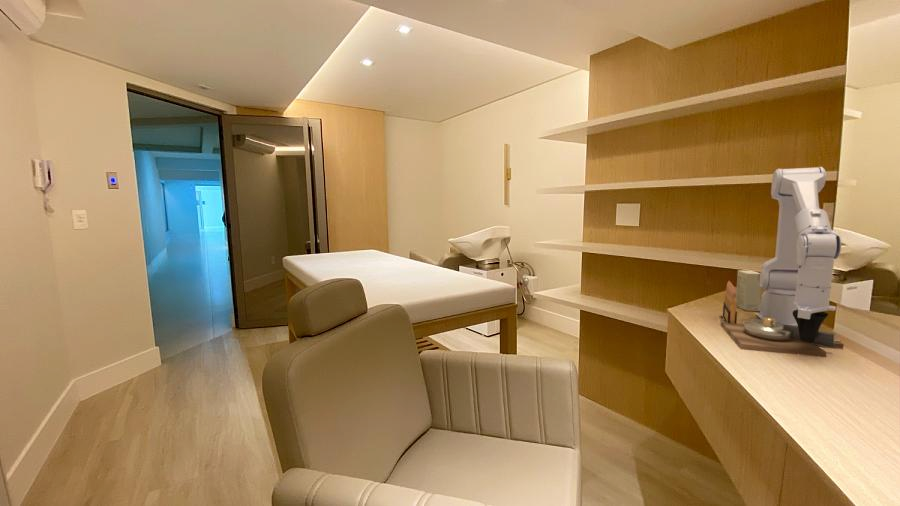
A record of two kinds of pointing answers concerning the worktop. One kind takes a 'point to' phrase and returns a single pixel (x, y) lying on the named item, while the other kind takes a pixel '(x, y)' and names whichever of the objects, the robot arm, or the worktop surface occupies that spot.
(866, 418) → the worktop surface
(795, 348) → the walnut stand
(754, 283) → the skincare box
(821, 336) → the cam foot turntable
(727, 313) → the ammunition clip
